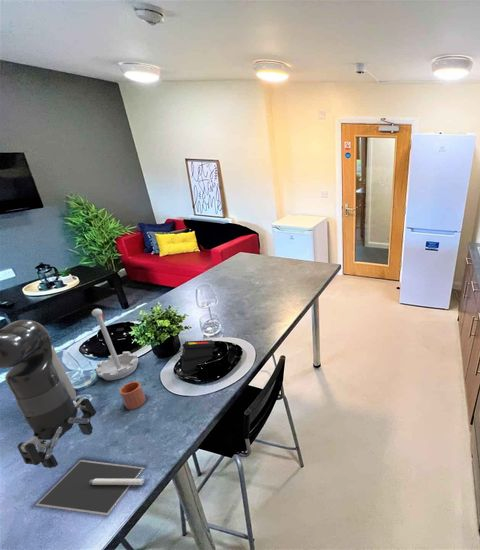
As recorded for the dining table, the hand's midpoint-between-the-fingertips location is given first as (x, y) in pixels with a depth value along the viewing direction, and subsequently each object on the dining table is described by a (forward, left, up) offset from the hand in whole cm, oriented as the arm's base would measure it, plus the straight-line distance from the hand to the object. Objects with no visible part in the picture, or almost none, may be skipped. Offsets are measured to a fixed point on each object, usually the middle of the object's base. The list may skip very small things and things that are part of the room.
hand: (71, 448), depth 73 cm
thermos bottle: (+25, +38, -16) cm, 48 cm away
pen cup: (+27, +11, -16) cm, 33 cm away
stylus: (+1, +1, -15) cm, 15 cm away
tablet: (0, 0, -16) cm, 16 cm away
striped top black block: (+47, -1, -16) cm, 50 cm away
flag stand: (+41, +30, -16) cm, 54 cm away
